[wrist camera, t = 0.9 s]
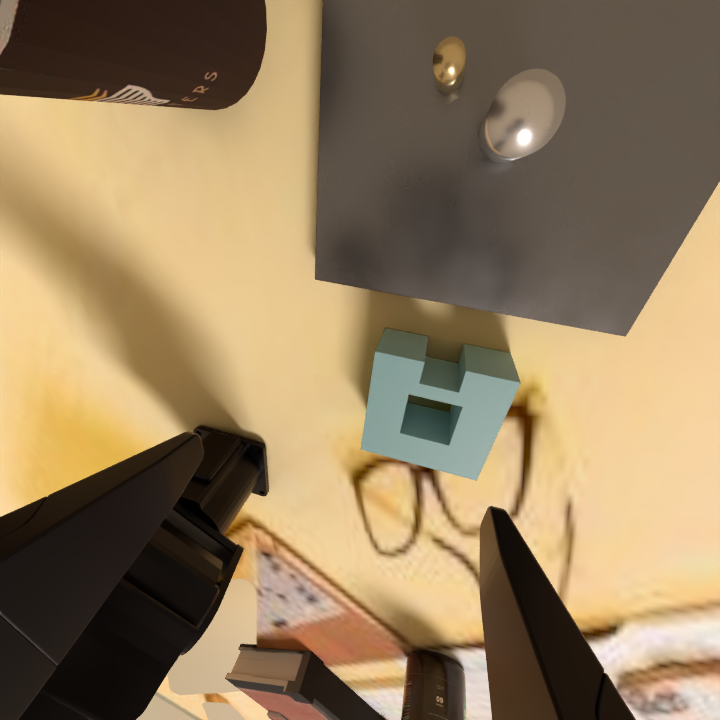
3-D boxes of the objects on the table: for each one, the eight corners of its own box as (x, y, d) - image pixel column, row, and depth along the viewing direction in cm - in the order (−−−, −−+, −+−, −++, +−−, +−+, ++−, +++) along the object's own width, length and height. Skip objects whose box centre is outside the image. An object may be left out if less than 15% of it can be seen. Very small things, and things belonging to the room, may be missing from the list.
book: (238, 643, 55) (220, 681, 51) (312, 647, 47) (298, 693, 43) (322, 712, 63) (313, 750, 59) (398, 725, 55) (394, 771, 51)
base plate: (614, 326, 15) (670, 377, 11) (322, 273, 18) (285, 300, 14) (898, -169, 8) (1326, -505, 4) (340, -144, 10) (272, -339, 7)
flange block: (473, 444, 21) (476, 480, 18) (371, 418, 22) (360, 449, 19) (510, 353, 17) (520, 382, 15) (385, 327, 18) (375, 351, 16)
